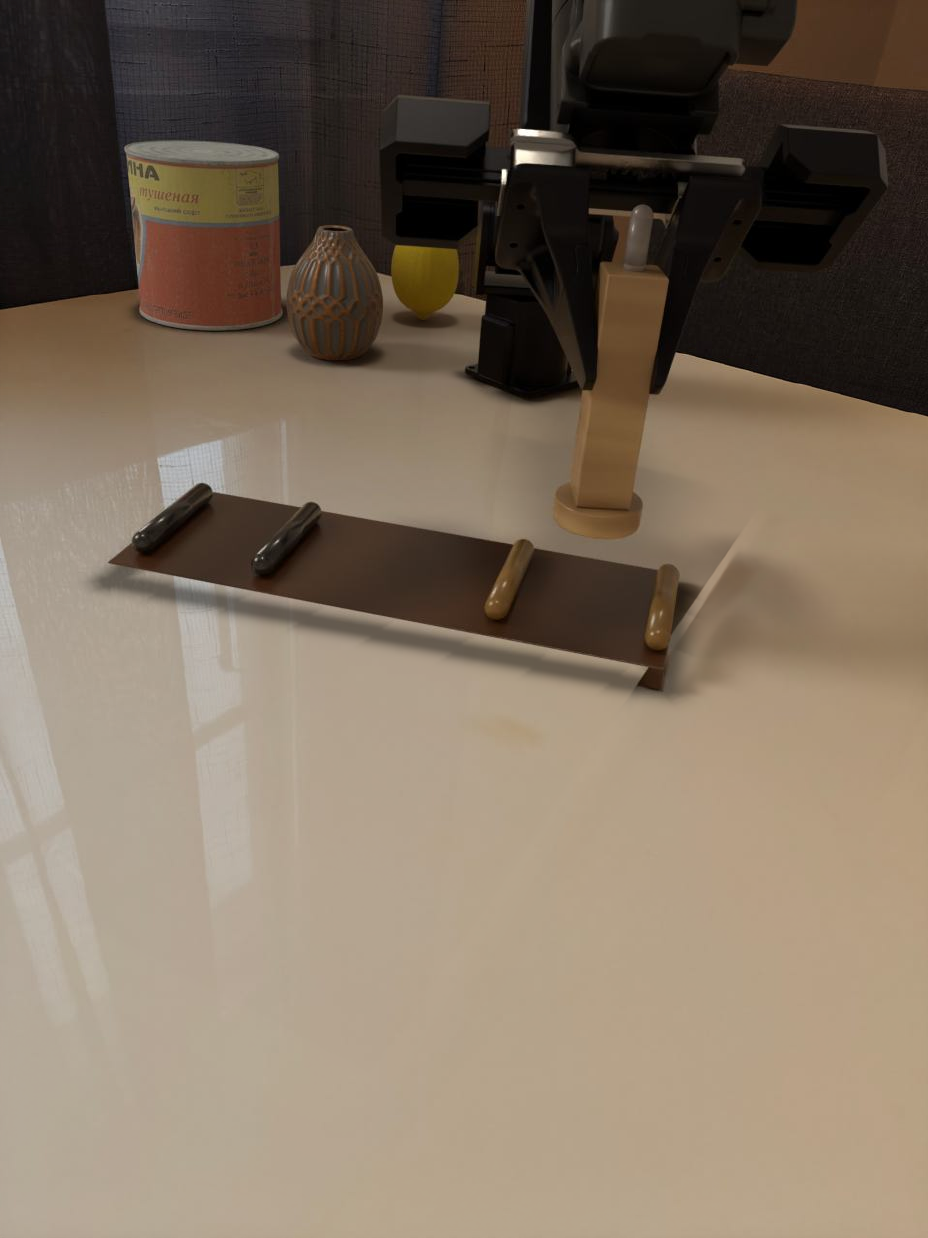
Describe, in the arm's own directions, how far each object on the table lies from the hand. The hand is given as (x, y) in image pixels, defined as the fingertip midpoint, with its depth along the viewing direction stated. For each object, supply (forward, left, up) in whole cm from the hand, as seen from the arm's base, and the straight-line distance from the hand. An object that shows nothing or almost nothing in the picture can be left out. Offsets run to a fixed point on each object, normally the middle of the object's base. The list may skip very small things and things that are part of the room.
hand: (622, 387), depth 37 cm
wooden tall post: (-1, -1, -6) cm, 6 cm away
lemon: (-27, -42, -11) cm, 51 cm away
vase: (-15, -38, -11) cm, 42 cm away
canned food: (-13, -52, -11) cm, 55 cm away
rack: (+4, -8, -11) cm, 14 cm away
